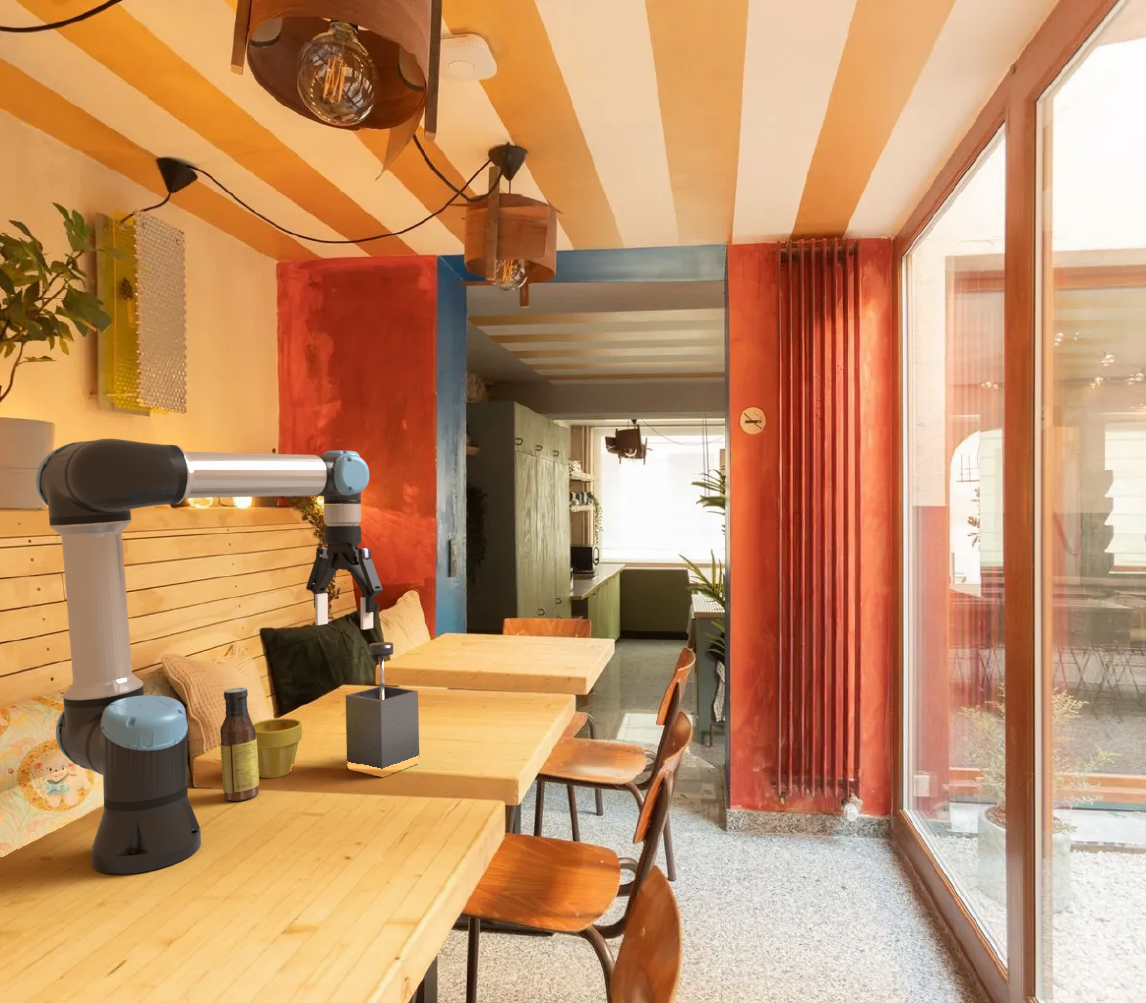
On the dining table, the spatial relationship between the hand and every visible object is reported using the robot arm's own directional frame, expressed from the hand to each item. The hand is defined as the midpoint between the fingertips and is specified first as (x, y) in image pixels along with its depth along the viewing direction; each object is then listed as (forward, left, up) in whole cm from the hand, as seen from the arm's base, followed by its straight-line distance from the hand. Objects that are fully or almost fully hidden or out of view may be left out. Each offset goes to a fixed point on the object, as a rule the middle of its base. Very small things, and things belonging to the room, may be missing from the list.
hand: (343, 626), depth 174 cm
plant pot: (-13, +6, -28) cm, 32 cm away
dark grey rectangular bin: (+3, -10, -28) cm, 30 cm away
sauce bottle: (-25, 0, -28) cm, 37 cm away
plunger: (+1, -10, -16) cm, 19 cm away
